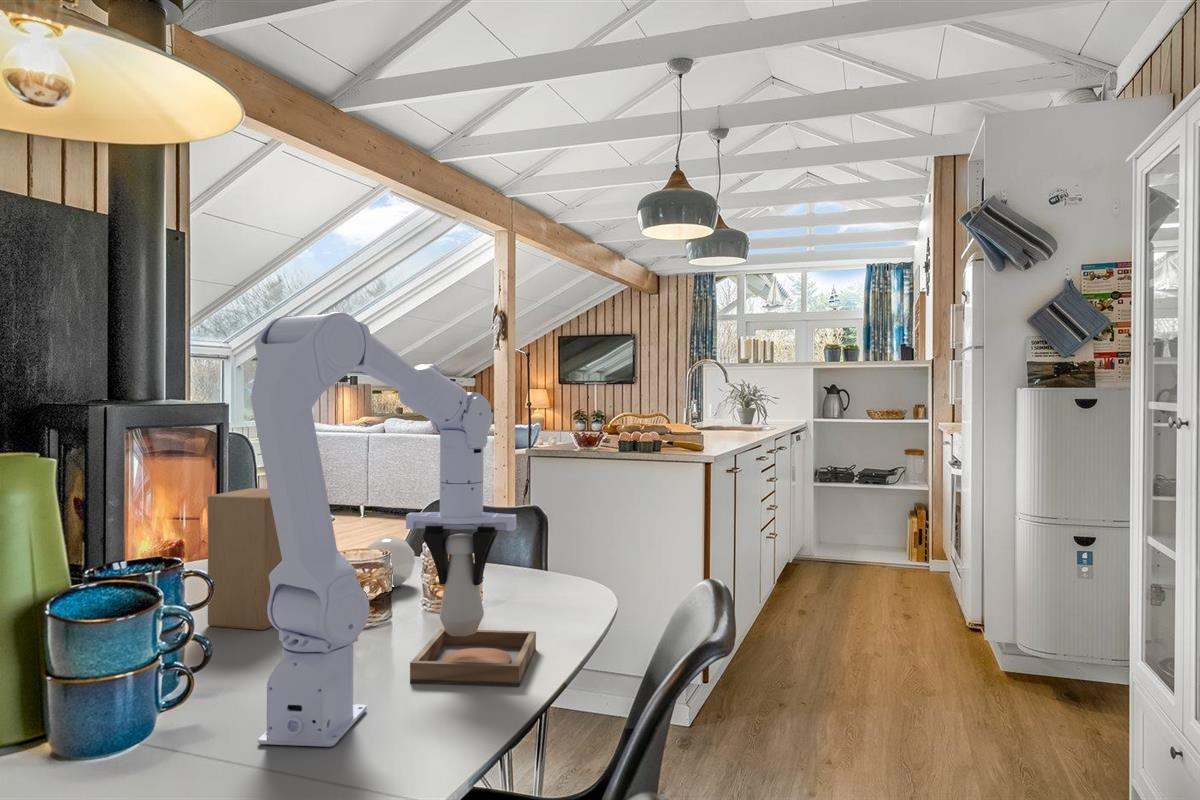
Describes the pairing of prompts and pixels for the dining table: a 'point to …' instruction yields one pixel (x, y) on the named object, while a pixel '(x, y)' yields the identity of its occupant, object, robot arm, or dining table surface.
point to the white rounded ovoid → (397, 557)
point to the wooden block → (241, 557)
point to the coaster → (478, 656)
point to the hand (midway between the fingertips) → (460, 583)
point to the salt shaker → (460, 589)
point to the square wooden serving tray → (435, 671)
